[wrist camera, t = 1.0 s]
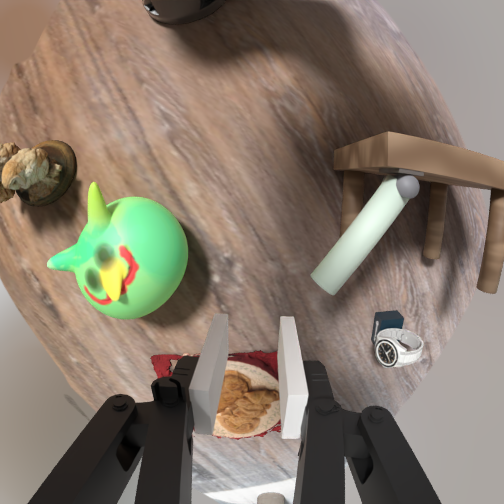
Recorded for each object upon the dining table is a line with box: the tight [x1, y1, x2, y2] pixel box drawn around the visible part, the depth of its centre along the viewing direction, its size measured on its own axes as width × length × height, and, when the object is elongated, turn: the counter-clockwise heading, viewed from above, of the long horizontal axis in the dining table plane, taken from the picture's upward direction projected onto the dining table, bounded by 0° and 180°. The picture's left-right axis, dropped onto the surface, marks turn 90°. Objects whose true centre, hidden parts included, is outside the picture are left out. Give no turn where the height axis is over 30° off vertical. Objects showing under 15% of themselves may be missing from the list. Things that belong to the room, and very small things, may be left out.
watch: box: [371, 310, 423, 368], centre depth 42 cm, size 6×8×11 cm
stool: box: [333, 131, 504, 294], centre depth 32 cm, size 15×20×20 cm
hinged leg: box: [310, 175, 419, 295], centre depth 26 cm, size 13×3×4 cm, turn 144°
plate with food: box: [150, 350, 281, 440], centre depth 51 cm, size 25×26×4 cm
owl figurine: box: [0, 140, 76, 206], centre depth 34 cm, size 18×12×17 cm, turn 102°
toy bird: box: [47, 182, 188, 319], centre depth 38 cm, size 18×17×15 cm
